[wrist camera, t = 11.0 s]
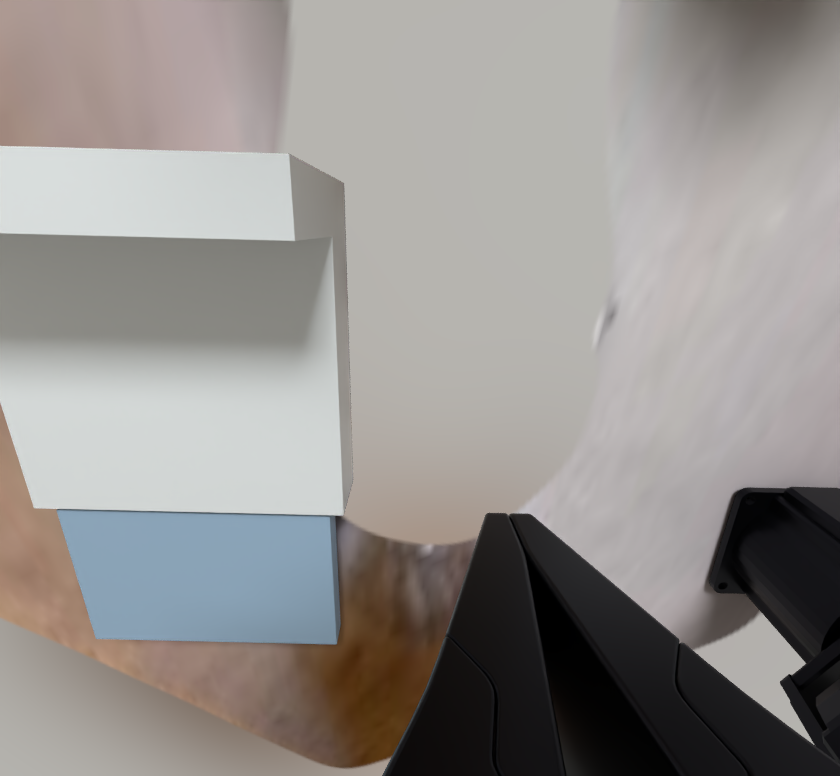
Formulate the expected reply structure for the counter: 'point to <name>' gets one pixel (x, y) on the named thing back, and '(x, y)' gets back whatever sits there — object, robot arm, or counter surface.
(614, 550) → the counter surface
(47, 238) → the white stepped block
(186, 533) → the panel
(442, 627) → the counter surface
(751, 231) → the counter surface
